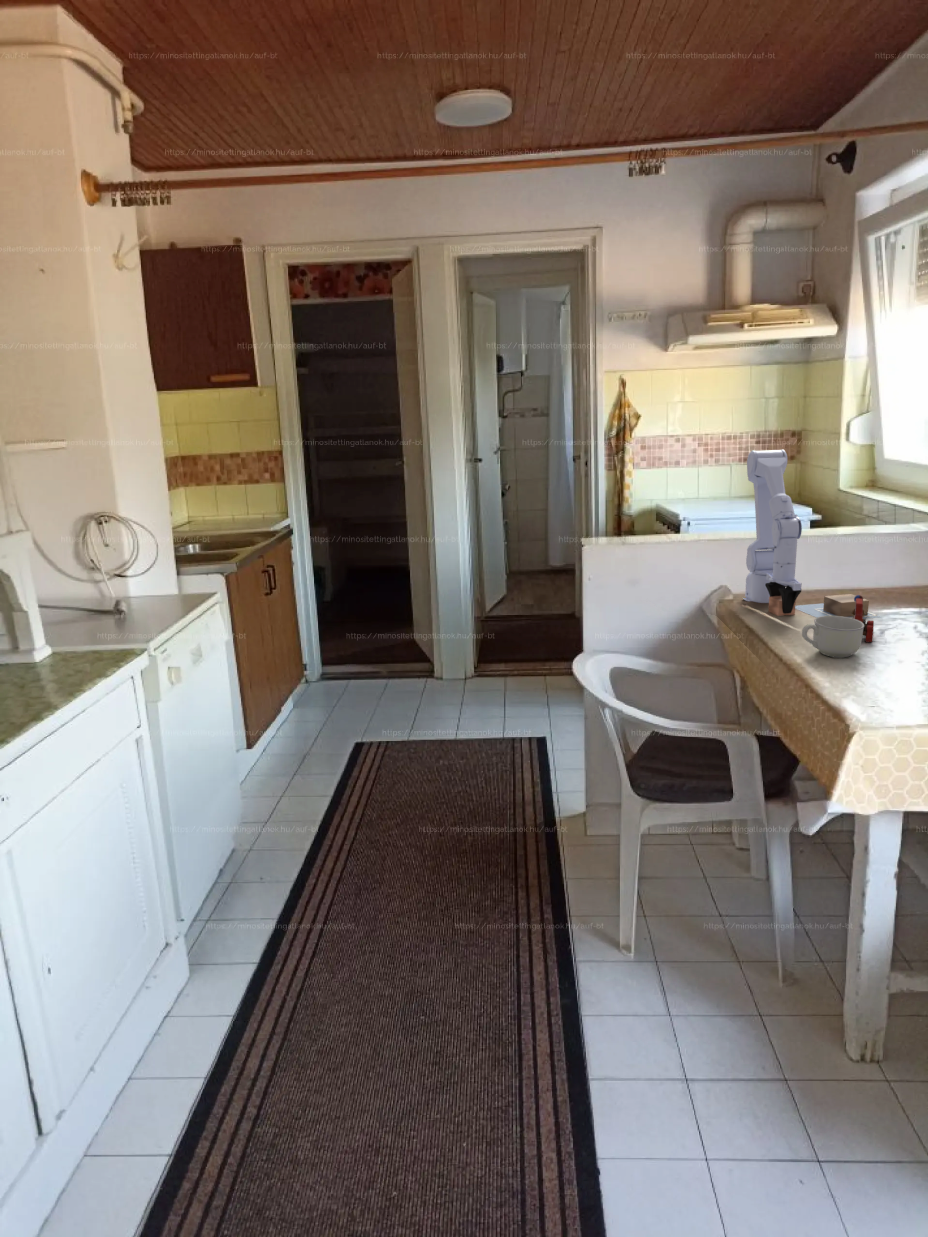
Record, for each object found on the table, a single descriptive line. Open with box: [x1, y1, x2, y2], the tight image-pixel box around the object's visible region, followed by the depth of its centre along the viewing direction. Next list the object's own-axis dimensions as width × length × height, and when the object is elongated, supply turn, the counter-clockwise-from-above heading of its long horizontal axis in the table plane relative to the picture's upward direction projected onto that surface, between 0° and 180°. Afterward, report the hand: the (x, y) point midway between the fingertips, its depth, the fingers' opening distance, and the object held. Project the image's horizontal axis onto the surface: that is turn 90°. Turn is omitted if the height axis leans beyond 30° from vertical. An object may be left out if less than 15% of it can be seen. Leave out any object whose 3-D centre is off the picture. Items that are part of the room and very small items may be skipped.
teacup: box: [801, 616, 864, 659], centre depth 197 cm, size 14×11×8 cm
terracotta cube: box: [768, 596, 797, 619], centre depth 232 cm, size 5×5×5 cm
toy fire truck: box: [852, 594, 875, 643], centre depth 208 cm, size 7×12×10 cm, turn 154°
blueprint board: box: [795, 602, 881, 620], centre depth 231 cm, size 18×16×1 cm
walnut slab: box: [823, 593, 870, 617], centre depth 229 cm, size 8×8×4 cm
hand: (781, 610), depth 232 cm, fingers closed on terracotta cube, 5 cm apart
